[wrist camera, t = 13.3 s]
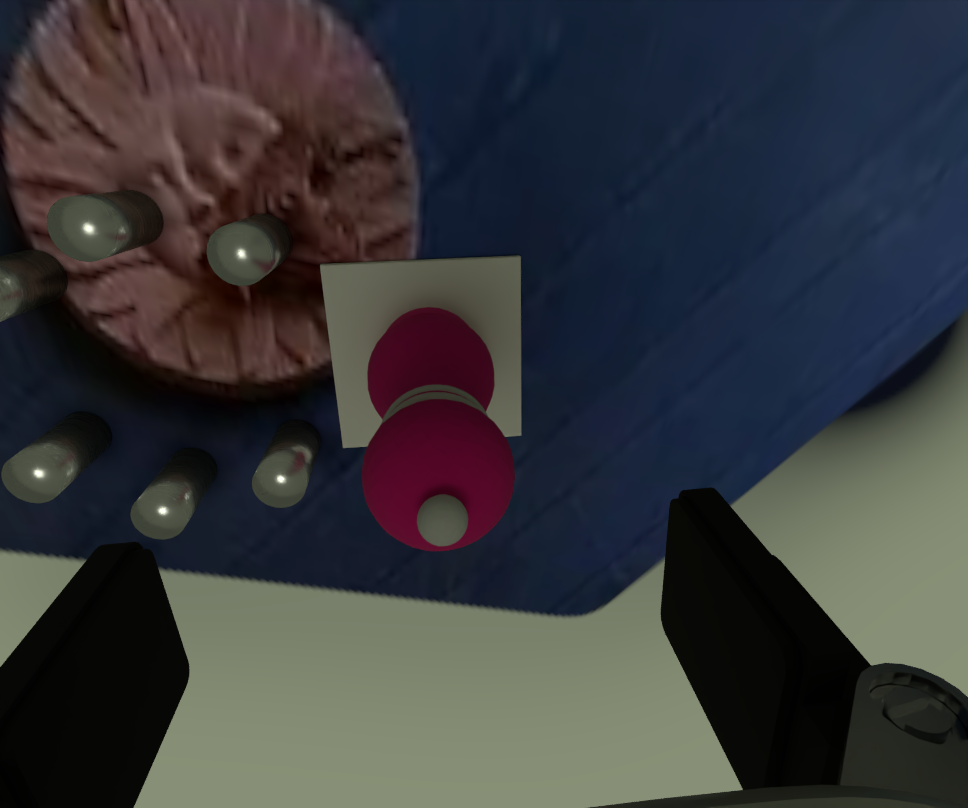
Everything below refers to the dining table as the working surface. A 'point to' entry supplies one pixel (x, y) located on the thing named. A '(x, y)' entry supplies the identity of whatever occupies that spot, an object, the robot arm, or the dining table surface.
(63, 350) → the dining table surface
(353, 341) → the mat
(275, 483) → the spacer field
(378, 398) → the pepper mill
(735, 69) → the dining table surface
